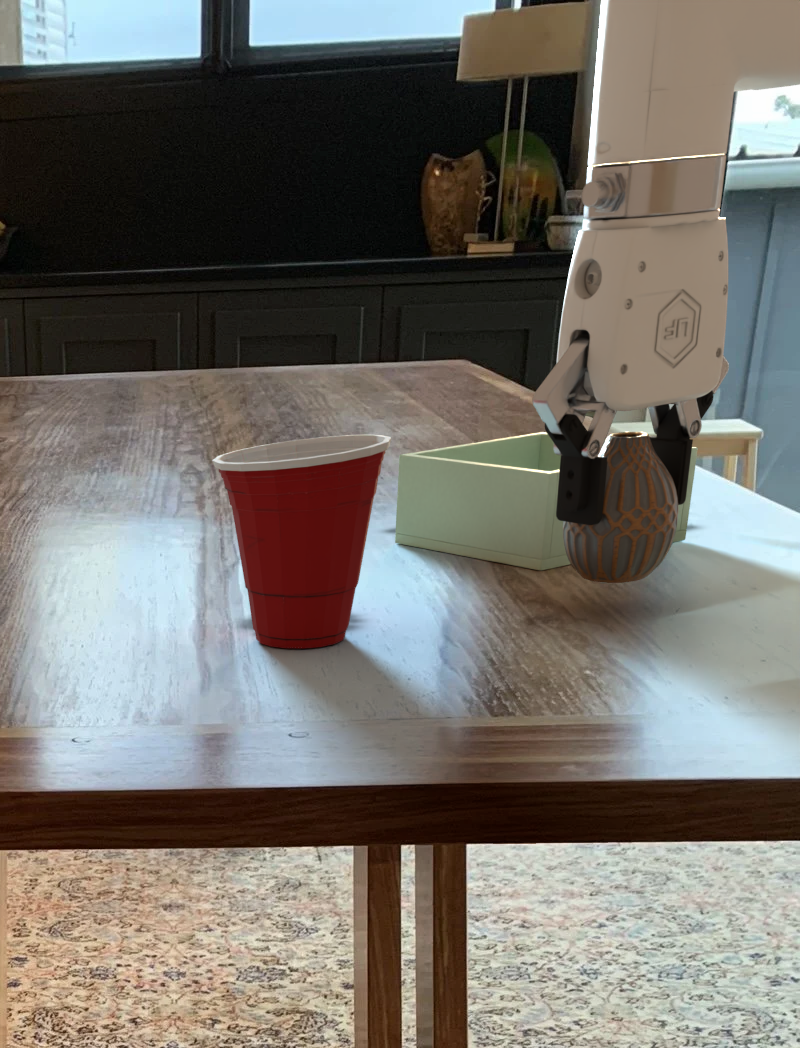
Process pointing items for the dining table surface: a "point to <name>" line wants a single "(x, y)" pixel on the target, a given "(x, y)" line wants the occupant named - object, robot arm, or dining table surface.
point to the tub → (492, 501)
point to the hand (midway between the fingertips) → (620, 510)
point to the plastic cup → (302, 531)
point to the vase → (627, 515)
